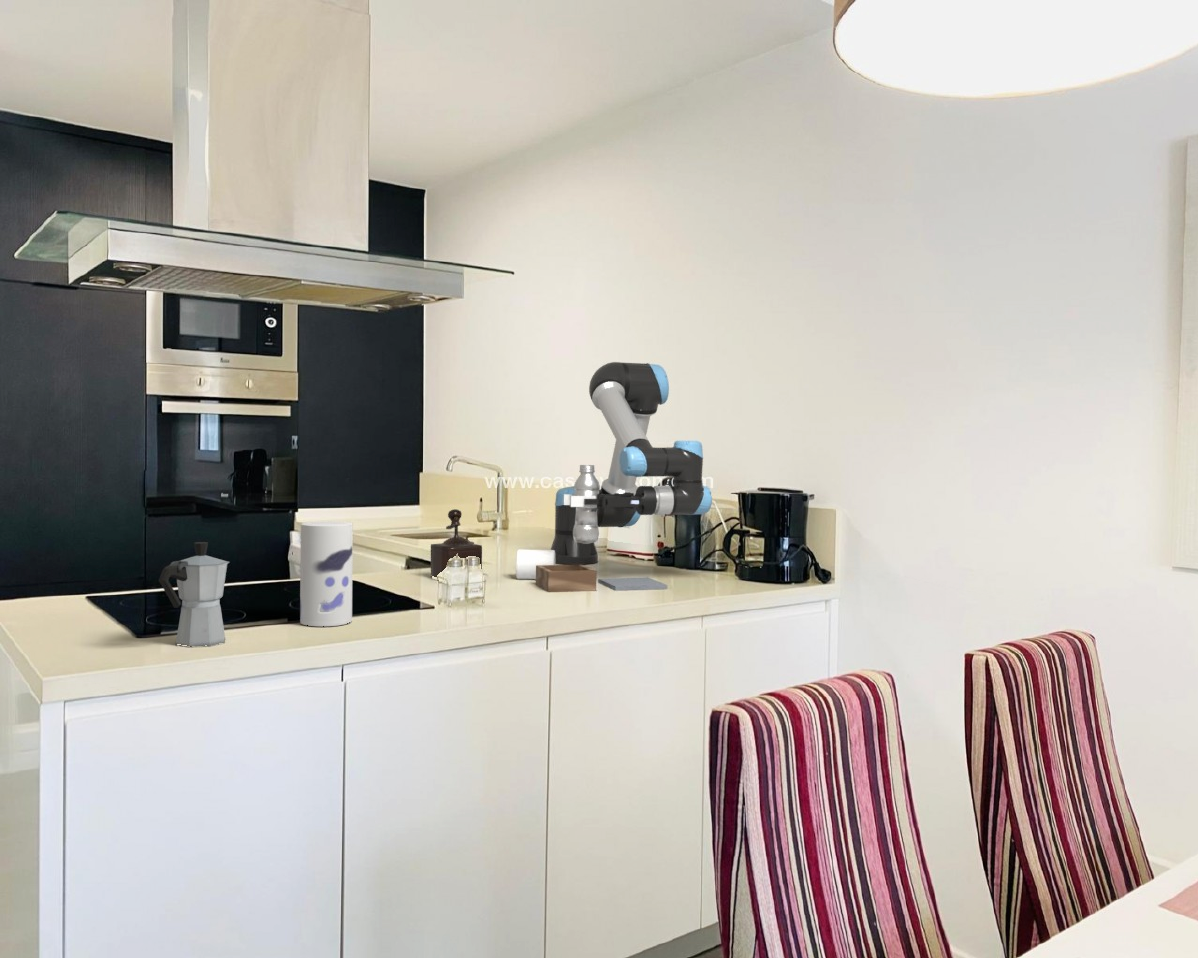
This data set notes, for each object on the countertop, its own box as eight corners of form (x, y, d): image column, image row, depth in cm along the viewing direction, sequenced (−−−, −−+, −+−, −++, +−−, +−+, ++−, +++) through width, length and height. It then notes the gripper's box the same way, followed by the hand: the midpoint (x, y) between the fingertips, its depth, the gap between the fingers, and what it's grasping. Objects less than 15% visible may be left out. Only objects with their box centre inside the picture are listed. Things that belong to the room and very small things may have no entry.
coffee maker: (211, 633, 181) (211, 537, 180) (246, 638, 177) (246, 540, 177) (142, 648, 168) (142, 544, 167) (178, 653, 164) (178, 547, 163)
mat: (598, 582, 256) (598, 578, 256) (647, 580, 260) (647, 577, 260) (615, 590, 243) (615, 586, 243) (667, 588, 247) (667, 584, 247)
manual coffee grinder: (485, 580, 256) (486, 512, 255) (447, 583, 249) (448, 513, 249) (457, 573, 268) (458, 508, 268) (420, 575, 262) (421, 509, 261)
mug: (553, 581, 256) (553, 551, 256) (515, 581, 256) (516, 551, 256) (556, 575, 268) (556, 546, 268) (520, 574, 268) (520, 546, 268)
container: (324, 629, 187) (325, 526, 186) (289, 623, 192) (289, 522, 192) (362, 621, 196) (363, 522, 195) (327, 616, 201) (328, 519, 200)
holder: (535, 584, 250) (536, 565, 250) (581, 583, 254) (582, 564, 253) (548, 592, 238) (548, 571, 238) (596, 590, 242) (596, 570, 242)
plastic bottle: (569, 542, 248) (570, 464, 248) (593, 542, 251) (594, 464, 250) (577, 545, 242) (579, 465, 242) (602, 544, 245) (604, 465, 244)
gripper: (665, 517, 243) (577, 518, 236) (640, 512, 261) (557, 512, 254) (666, 487, 242) (577, 487, 236) (641, 484, 260) (557, 483, 254)
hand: (567, 500), depth 245 cm, fingers closed on plastic bottle, 6 cm apart
